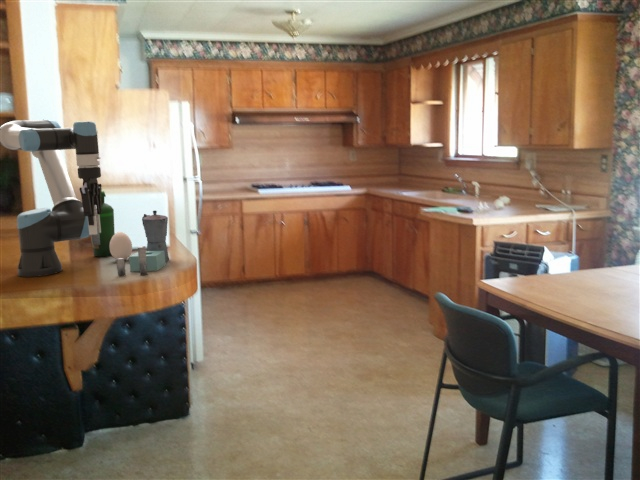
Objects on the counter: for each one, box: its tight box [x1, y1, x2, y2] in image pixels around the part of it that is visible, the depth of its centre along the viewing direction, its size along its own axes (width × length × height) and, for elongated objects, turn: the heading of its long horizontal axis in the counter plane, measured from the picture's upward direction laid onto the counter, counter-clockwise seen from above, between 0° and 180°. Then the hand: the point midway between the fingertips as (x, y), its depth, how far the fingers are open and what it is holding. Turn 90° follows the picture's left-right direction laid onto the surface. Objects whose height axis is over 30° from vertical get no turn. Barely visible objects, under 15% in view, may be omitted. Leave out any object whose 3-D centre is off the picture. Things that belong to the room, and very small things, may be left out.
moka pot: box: [141, 210, 170, 263], centre depth 251 cm, size 10×15×20 cm, turn 53°
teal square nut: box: [128, 250, 166, 272], centre depth 239 cm, size 10×10×6 cm
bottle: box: [89, 187, 116, 258], centre depth 267 cm, size 11×11×28 cm
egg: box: [109, 231, 133, 261], centre depth 256 cm, size 9×9×11 cm
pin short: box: [115, 258, 126, 277], centre depth 229 cm, size 3×3×6 cm
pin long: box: [91, 205, 100, 246], centre depth 227 cm, size 3×3×14 cm
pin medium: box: [137, 245, 148, 276], centre depth 228 cm, size 3×3×10 cm
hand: (95, 233), depth 228 cm, fingers closed on pin long, 2 cm apart
